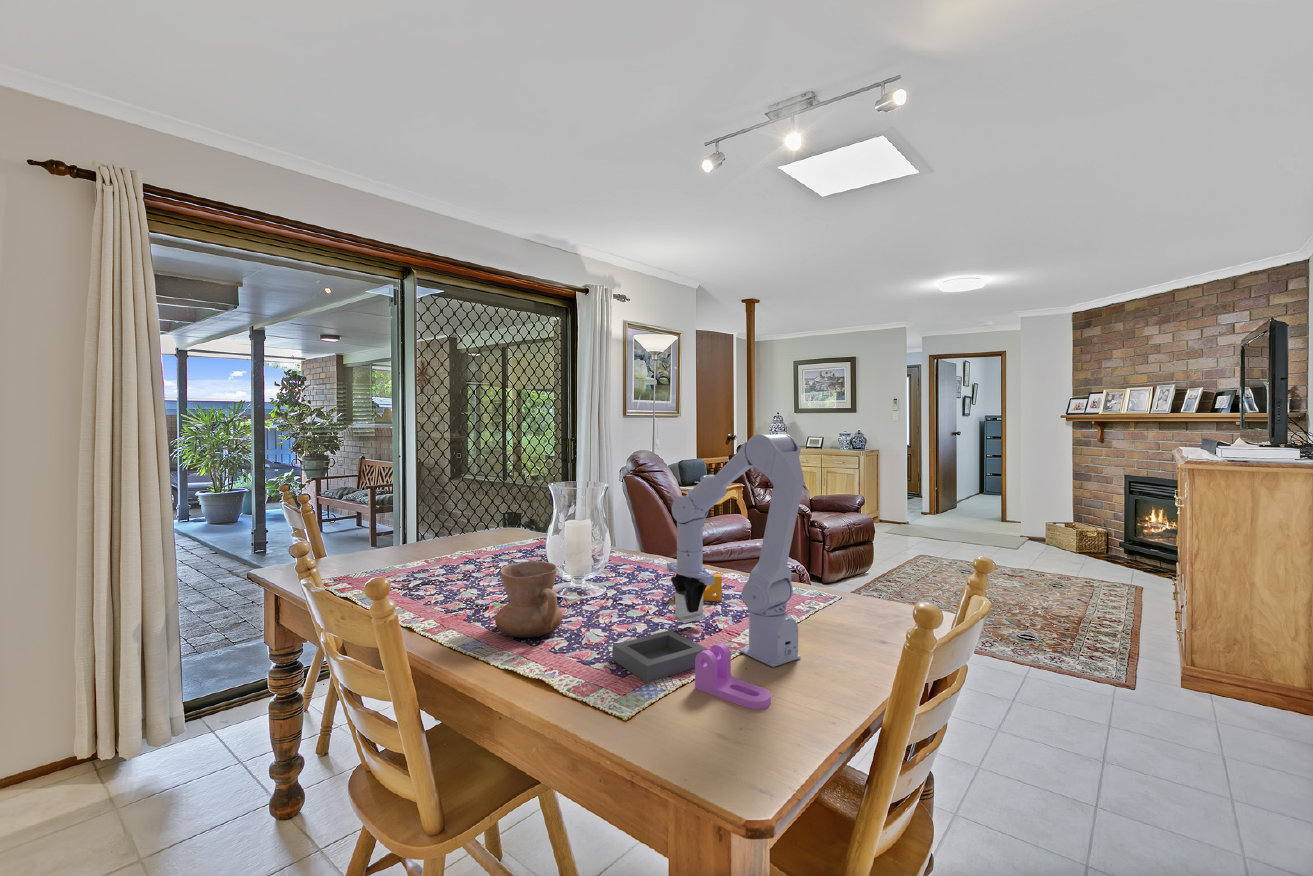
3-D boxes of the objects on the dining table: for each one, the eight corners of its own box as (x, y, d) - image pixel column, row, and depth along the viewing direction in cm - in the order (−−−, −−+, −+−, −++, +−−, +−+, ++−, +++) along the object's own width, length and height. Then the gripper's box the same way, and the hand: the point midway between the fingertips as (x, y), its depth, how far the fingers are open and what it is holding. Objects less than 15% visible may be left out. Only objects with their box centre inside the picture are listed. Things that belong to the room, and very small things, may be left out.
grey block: (705, 618, 133) (705, 591, 132) (684, 623, 129) (684, 596, 129) (694, 613, 136) (694, 587, 136) (673, 618, 132) (673, 591, 132)
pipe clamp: (674, 602, 152) (675, 577, 151) (675, 597, 156) (675, 573, 156) (721, 603, 151) (722, 578, 151) (720, 598, 155) (721, 574, 155)
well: (707, 664, 114) (707, 648, 113) (647, 682, 106) (647, 666, 105) (670, 644, 123) (670, 630, 123) (612, 659, 115) (612, 644, 115)
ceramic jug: (481, 628, 132) (480, 565, 131) (538, 613, 142) (538, 554, 141) (521, 654, 119) (520, 584, 118) (581, 636, 128) (581, 571, 127)
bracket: (694, 689, 104) (695, 649, 103) (713, 678, 108) (713, 640, 108) (759, 713, 95) (760, 670, 95) (776, 701, 99) (777, 660, 99)
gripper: (725, 553, 128) (724, 615, 129) (683, 541, 140) (683, 598, 141) (699, 557, 124) (699, 621, 125) (659, 545, 136) (659, 603, 137)
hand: (689, 609), depth 132 cm, fingers closed on grey block, 2 cm apart
